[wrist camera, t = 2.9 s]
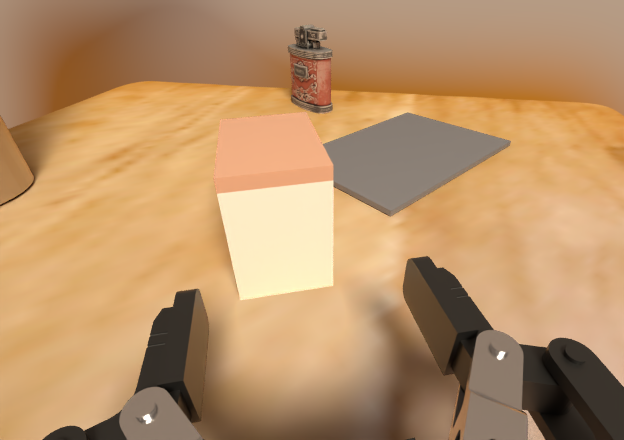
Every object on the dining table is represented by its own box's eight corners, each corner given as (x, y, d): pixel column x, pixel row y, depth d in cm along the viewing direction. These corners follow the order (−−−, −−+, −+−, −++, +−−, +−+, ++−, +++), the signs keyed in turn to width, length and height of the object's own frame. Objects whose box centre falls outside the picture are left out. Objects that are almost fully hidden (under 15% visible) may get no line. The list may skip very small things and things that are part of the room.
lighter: (286, 101, 52) (280, 24, 46) (305, 97, 53) (302, 22, 47) (317, 115, 46) (315, 29, 40) (338, 109, 48) (338, 26, 42)
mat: (287, 162, 35) (287, 157, 34) (407, 116, 44) (407, 112, 44) (390, 216, 26) (391, 210, 26) (509, 145, 36) (510, 141, 36)
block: (333, 286, 21) (333, 165, 16) (240, 300, 20) (213, 178, 16) (310, 213, 27) (306, 112, 23) (239, 222, 27) (220, 119, 22)
